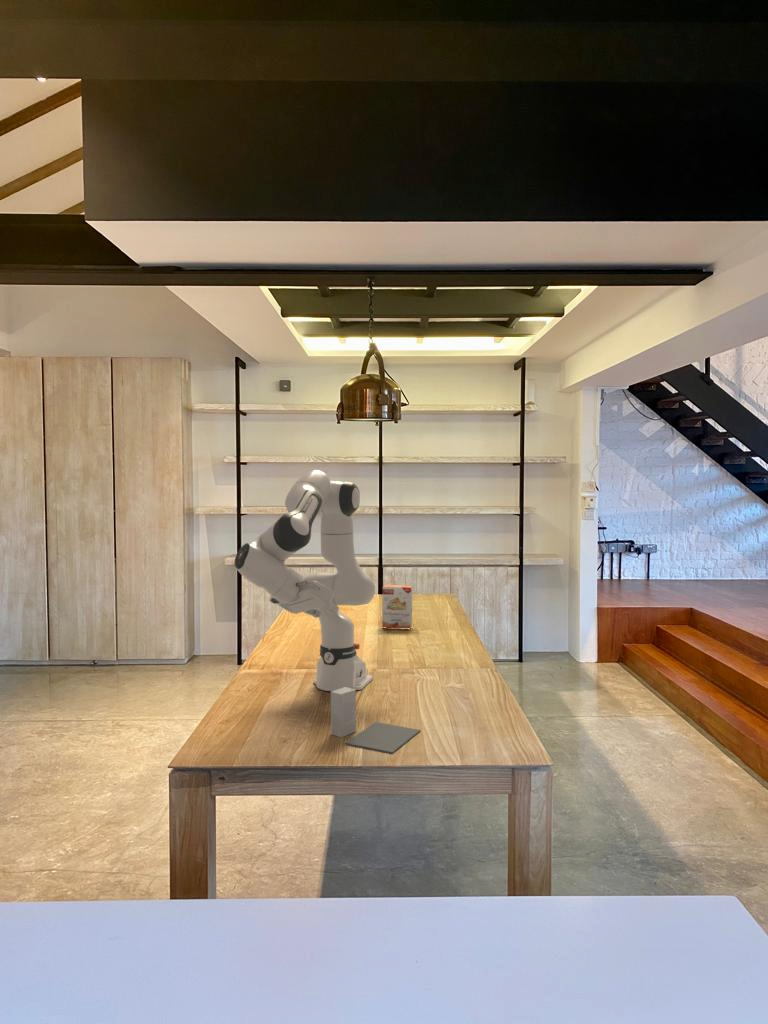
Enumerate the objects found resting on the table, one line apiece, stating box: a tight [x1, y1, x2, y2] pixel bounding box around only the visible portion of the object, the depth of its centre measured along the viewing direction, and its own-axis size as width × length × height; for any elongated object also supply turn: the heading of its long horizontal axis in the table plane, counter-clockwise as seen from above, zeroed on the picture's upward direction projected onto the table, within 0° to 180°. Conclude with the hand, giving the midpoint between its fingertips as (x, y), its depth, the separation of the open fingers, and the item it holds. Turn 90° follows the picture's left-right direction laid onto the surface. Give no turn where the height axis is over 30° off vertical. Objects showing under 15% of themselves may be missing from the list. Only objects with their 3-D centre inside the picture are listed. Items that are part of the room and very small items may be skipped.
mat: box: [344, 721, 421, 754], centre depth 184 cm, size 18×14×1 cm
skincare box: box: [330, 687, 357, 738], centre depth 187 cm, size 6×4×12 cm
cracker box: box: [381, 584, 413, 629], centre depth 329 cm, size 14×6×21 cm, turn 81°
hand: (327, 613), depth 187 cm, fingers open, 8 cm apart
